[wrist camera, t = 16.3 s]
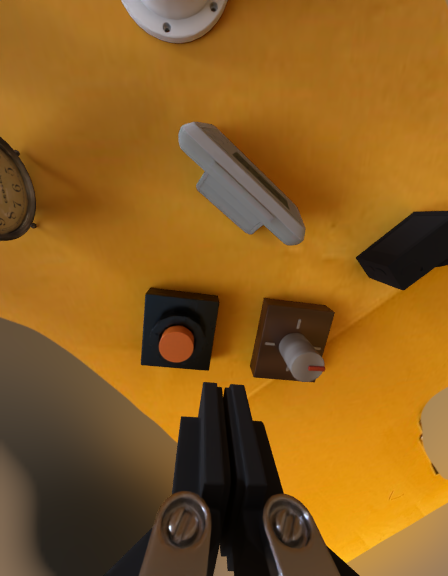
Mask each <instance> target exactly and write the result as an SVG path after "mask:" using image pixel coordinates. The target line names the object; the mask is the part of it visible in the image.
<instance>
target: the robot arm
mask: <svg viewBox="0 0 448 576" xmlns="http://www.w3.org/2000/svg"><path fill="white" fill-rule="evenodd" d="M121 1H122V3H123V5H124V7H125V8H126V10H127V11H128V13H129V14H130V16H131V17H132V18H133V19H134V21H135V22H136V23H137V24H138V25H139V26H140V27H141V28H142V29H144V30H145V31H146V32H147V33H149V34H150V35H152V36H154V37H156V38H158V39H160V40H163V41H167V42H170V43H184V42H190V41H193V40H195V39H198V38H200V37H202V36H203V35H204V34H206V33H207V32H208V31H210V30H211V28H212V27H213V26H214V25H215V24H216V23H217V22H218V20H219V18H220V16H221V15H222V13H223V11H224V9H225V6H226V3H227V1H228V0H121ZM212 11H215V12H212ZM167 31H169V32H167ZM166 32H167V33H166ZM219 545H220V551H221V556H227V568H228V571H234V576H359V575H358V574H357V573H356V572H355V571H354V570H353V569H352V568H350V567H349V566H348V565H347V564H346V563H345V562H344V561H343V560H342V559H341V558H339V557H338V556H337V555H336V554H335V553H334V552H333V551H332V550H331V549H329V548H328V547H327V546H326V544H325V542H324V540H323V538H322V536H321V534H320V532H319V530H318V528H317V526H316V524H315V521H314V519H313V517H312V516H311V514H310V513H309V511H308V509H307V508H306V507H305V506H304V505H303V504H302V503H301V502H300V501H299V500H297V499H296V498H294V497H292V496H290V495H287V494H284V493H283V489H282V486H281V483H280V479H279V476H278V472H277V469H276V465H275V462H274V458H273V455H272V451H271V448H270V444H269V441H268V437H267V434H266V430H265V427H264V424H263V422H262V421H252V416H251V412H250V408H249V404H248V399H247V395H246V391H245V387H244V385H235V384H231V385H230V387H229V388H225V390H224V396H223V394H222V387H217V383H209V382H203V388H202V394H201V401H200V408H199V415H198V417H182V416H181V421H180V429H179V437H178V446H177V454H176V463H175V472H174V480H173V490H172V495H171V496H170V497H168V498H167V499H166V500H165V501H164V502H163V504H162V505H161V506H160V508H159V511H158V513H157V515H156V519H155V522H154V526H153V528H151V530H149V532H147V533H146V534H145V535H144V536H143V537H142V538H141V539H140V540H139V541H138V542H137V543H136V544H135V545H134V546H133V547H132V548H131V549H130V550H129V551H128V552H127V553H126V554H125V555H124V556H123V557H122V558H121V559H120V560H119V561H118V562H117V563H116V564H115V565H114V566H113V567H112V568H111V569H110V570H109V571H108V572H107V573H106V574H105V575H103V576H213V573H214V569H215V564H216V559H217V554H218V550H219Z"/></svg>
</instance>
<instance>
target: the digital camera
mask: <svg viewBox="0 0 448 576" xmlns="http://www.w3.org/2000/svg"><path fill="white" fill-rule="evenodd" d="M356 259H357V260H358V262H359V263H360V265H361V266H362V268H363V269H364V271H365V272H366V274H367V275H368V277H369V278H371V279H374V280H377V281H379V282H382V283H384V284H387V285H390V286H392V287H395V288H398V289H401V290H405V289H406V288H408V287H409V286H411V285H412V284H413V283H415V282H416V281H417V280H419V279H420V278H421V277H423V276H424V275H425V274H427V273H428V272H429V271H431V270H432V269H433V268H435V267H440V266H445V265H448V211H425V212H413V213H412V214H411V215H409V216H408V217H407V218H406V219H404V220H403V221H402V222H400V223H399V224H398V225H397V226H395V227H394V228H393V229H392V230H390V231H389V232H388V233H386V234H385V235H384V236H383V237H381V238H380V239H379V240H377V241H376V242H375V243H374V244H372V245H371V246H370V247H369V248H367V249H366V250H365V251H363V252H362V253H361V254H360V255H358V256H357V257H356Z"/></svg>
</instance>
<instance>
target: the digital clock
mask: <svg viewBox="0 0 448 576" xmlns="http://www.w3.org/2000/svg"><path fill="white" fill-rule="evenodd" d="M178 136H179V145H180V147H181V149H182V150H183V151H184V152H185V153H186V154H187V155H188V156H189V157H190V158H191V159H192V160H193V161H194V162H196V163H197V164H198V165H199V166H200V167H201V168H202V169H203V170H204V171H205V172H204V174H203V175H202V177H201V179H200V180H199V182H198V183H197V185H196V188H197V190H198V191H199V192H200V193H201V194H202V195H204V196H205V197H206V198H207V199H208V200H209V201H210V202H211V203H213V204H214V205H215V206H216V207H217V208H218V209H219V210H221V211H222V212H223V213H224V214H225V215H226V216H227V217H228V218H230V219H231V220H232V221H233V222H234V223H235V224H236V225H237V226H239V227H240V228H241V229H242V230H243V231H244V232H245V233H248V234H253V233H254V232H255V231H256V230H257V229H258V228H260V227H261V226H262V225H264V226H265V227H267V228H268V229H269V230H270V231H271V232H272V233H273V234H274V235H275V236H276V237H278V238H279V239H280V240H281V241H282V242H283V243H284V244H286V245H297V244H299V243H301V242H302V241H303V240H304V235H305V226H304V223H303V221H302V218H301V215H300V213H299V210H298V208H297V207H296V205H295V204H294V203H293V202H292V201H291V200H290V199H289V198H288V197H287V196H286V195H285V194H284V193H283V192H282V191H280V190H279V189H278V188H277V187H276V186H275V185H274V184H273V183H272V182H271V181H270V180H269V179H268V178H267V177H266V176H265V175H264V174H263V173H262V172H261V171H260V170H259V169H258V168H257V167H256V166H255V165H254V164H253V163H252V162H251V161H250V160H249V159H248V158H247V157H246V156H245V155H244V154H243V153H242V152H241V151H240V150H239V149H238V148H237V147H236V146H235V145H234V144H233V143H232V142H231V141H230V140H229V139H228V138H227V137H225V136H224V135H223V134H222V133H221V132H220V131H219V130H218V129H217V128H216V127H215V126H214V125H212V124H206V123H201V122H192V123H188V124H185V125H182V127H181V129H180V131H179V135H178Z"/></svg>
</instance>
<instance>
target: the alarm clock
mask: <svg viewBox="0 0 448 576" xmlns="http://www.w3.org/2000/svg"><path fill="white" fill-rule="evenodd" d="M19 155H20V153H19V151H17V150H13V149H12V148H11V147H10V145H9V144H8V143H7V142H6V141H5V140H3V139H2V138H1V137H0V241H8V240H13V239H17V238H19V237H21V236H22V235H23V234H25V233H26V232H27V231H28V229H29V228H30V226H31V227H32V228H36V224H35V223H32V222H33V220H34V216H35V209H36V199H35V192H34V188H33V185H32V181H31V179H30V176H29V174H28V172H27V170H26V168H25V166H24V164H23V163H22V161H21V159H20V158H19V157H18V156H19Z"/></svg>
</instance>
